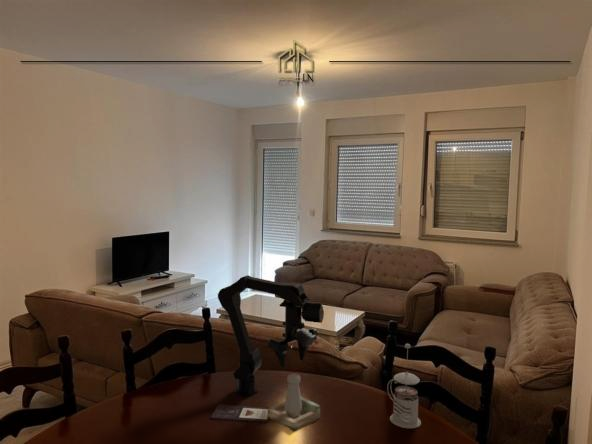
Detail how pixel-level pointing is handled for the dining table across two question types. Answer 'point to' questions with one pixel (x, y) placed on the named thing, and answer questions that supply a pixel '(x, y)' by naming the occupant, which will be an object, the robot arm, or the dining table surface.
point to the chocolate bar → (240, 413)
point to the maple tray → (305, 417)
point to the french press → (410, 413)
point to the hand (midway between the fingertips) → (292, 363)
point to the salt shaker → (293, 396)
